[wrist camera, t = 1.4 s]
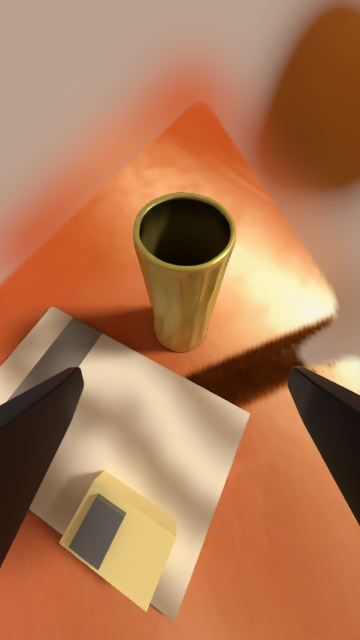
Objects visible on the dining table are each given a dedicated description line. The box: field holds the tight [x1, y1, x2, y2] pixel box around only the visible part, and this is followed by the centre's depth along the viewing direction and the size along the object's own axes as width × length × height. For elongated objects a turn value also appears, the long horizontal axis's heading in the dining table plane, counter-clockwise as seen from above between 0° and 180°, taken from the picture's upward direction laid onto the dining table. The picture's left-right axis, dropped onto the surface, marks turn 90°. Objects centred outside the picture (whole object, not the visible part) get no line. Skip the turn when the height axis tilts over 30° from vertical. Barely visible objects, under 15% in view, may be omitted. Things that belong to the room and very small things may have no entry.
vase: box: [133, 192, 236, 352], centre depth 17 cm, size 6×6×14 cm
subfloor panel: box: [0, 306, 250, 622], centre depth 19 cm, size 15×24×1 cm, turn 62°
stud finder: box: [59, 471, 177, 612], centre depth 15 cm, size 7×4×3 cm, turn 62°
